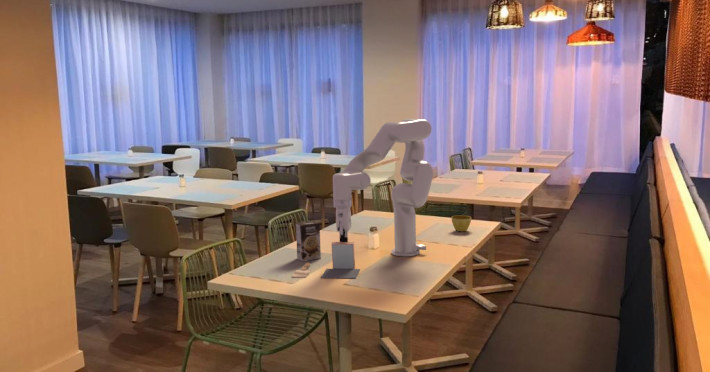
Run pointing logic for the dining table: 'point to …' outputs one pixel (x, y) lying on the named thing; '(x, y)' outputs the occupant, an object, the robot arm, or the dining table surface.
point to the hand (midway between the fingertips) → (343, 246)
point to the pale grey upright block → (343, 255)
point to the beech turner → (302, 272)
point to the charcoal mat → (341, 273)
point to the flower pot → (461, 222)
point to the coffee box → (308, 240)
